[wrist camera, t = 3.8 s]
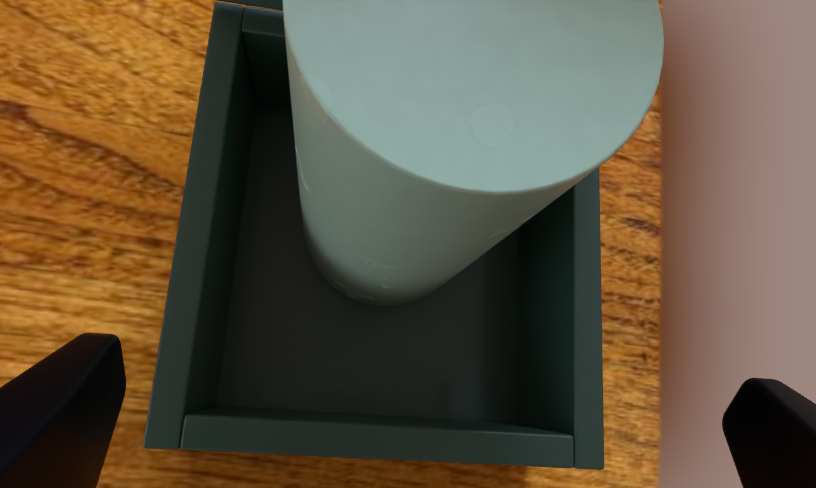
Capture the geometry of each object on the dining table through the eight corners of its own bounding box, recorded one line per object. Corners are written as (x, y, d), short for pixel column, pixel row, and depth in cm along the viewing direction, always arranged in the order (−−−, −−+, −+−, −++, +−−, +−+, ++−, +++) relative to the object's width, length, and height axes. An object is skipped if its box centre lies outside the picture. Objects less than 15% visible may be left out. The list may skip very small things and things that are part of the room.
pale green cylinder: (479, 293, 20) (708, 171, 8) (314, 318, 19) (310, 217, 7) (450, 140, 21) (615, -156, 9) (292, 155, 20) (259, -158, 8)
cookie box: (530, 447, 20) (605, 470, 15) (190, 429, 18) (141, 448, 13) (534, 130, 22) (598, 56, 17) (239, 92, 21) (213, 0, 16)
